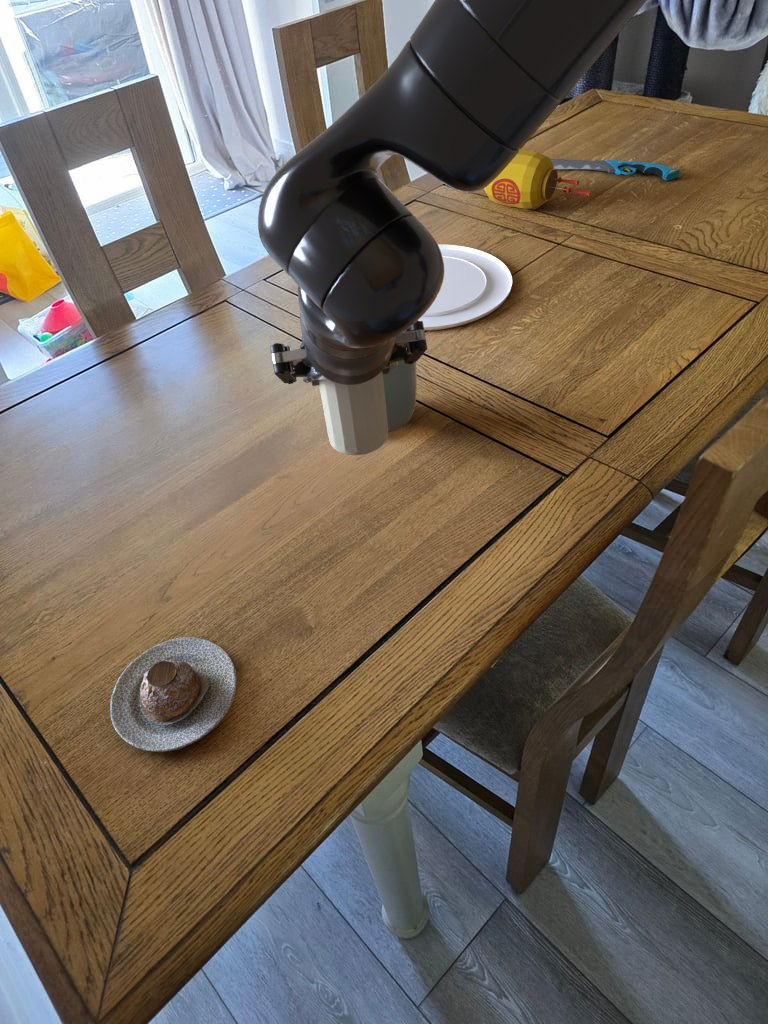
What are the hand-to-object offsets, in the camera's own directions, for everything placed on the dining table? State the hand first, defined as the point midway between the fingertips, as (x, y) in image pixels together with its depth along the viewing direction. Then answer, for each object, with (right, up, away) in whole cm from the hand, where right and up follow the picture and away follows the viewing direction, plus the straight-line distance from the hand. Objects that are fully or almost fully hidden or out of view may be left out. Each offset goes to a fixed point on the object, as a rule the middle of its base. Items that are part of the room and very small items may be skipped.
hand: (348, 370), depth 71 cm
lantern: (+30, +46, +66) cm, 86 cm away
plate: (+11, +23, +47) cm, 53 cm away
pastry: (-16, -32, -4) cm, 36 cm away
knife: (+46, +58, +76) cm, 106 cm away
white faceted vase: (+1, -6, +4) cm, 8 cm away
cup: (+3, -2, +23) cm, 23 cm away
